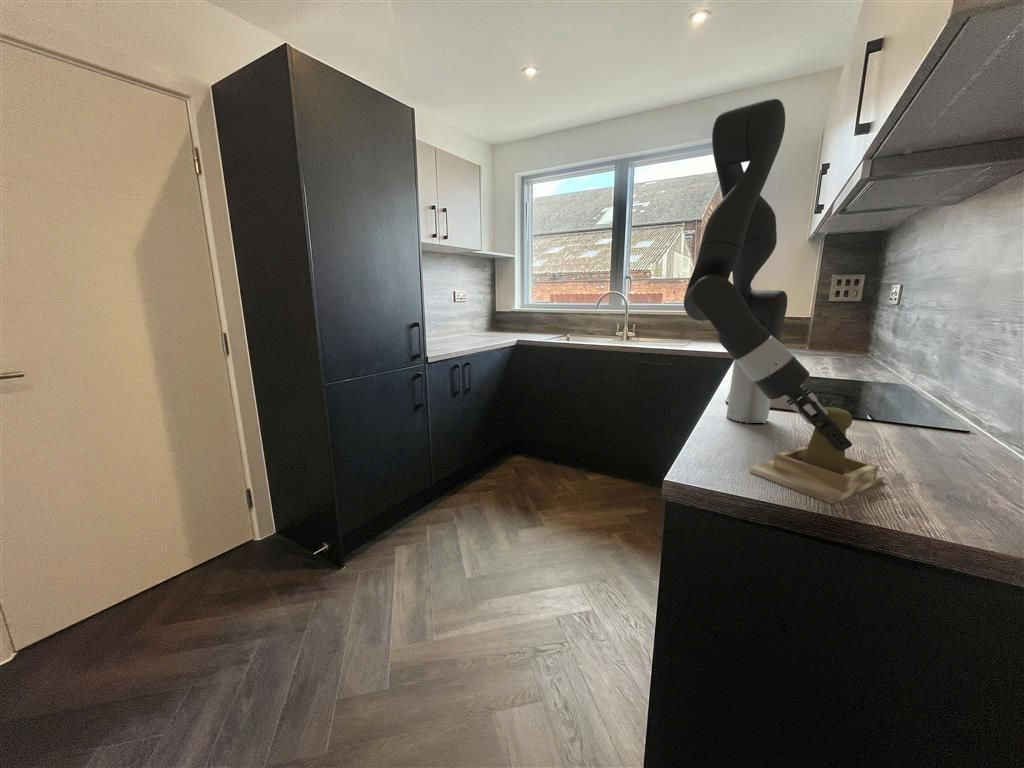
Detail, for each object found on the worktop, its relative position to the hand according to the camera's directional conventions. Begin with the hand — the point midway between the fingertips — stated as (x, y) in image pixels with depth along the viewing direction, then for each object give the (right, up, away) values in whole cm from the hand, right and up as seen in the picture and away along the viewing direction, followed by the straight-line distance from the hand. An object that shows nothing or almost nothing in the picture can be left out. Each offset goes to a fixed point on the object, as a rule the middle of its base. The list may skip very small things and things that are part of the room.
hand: (841, 442), depth 69 cm
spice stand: (-2, -7, +3) cm, 8 cm away
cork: (-2, -5, +2) cm, 6 cm away
